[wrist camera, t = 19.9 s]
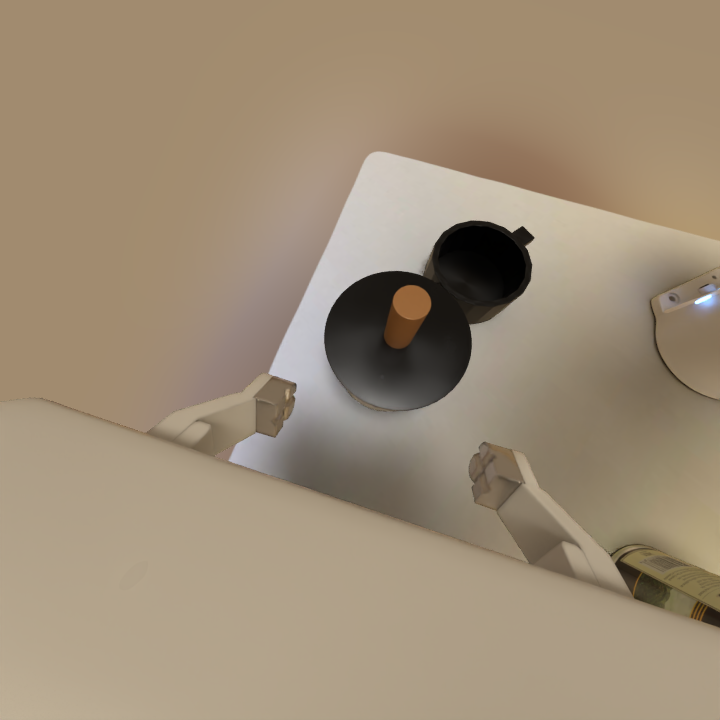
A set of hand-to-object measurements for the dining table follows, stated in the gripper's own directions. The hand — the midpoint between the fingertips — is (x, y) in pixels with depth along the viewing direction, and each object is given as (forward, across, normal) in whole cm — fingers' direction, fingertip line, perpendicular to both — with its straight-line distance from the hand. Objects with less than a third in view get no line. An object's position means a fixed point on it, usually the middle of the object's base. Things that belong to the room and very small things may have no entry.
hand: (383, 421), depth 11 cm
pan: (+33, -8, -1) cm, 34 cm away
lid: (+14, 0, +2) cm, 14 cm away
